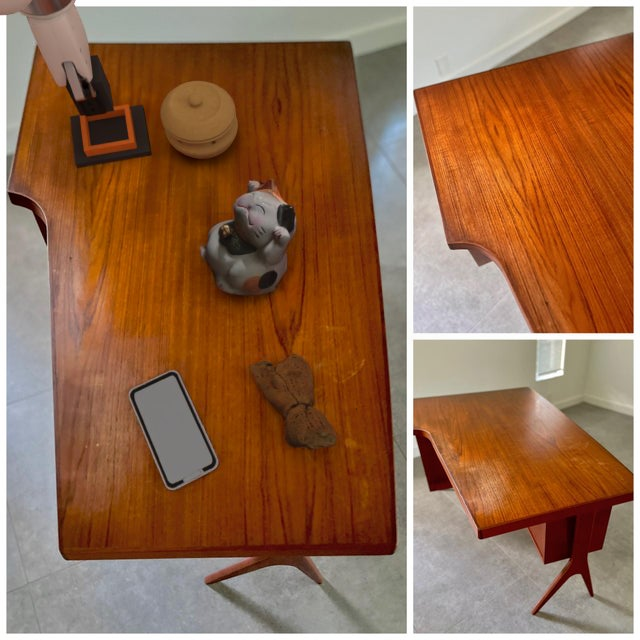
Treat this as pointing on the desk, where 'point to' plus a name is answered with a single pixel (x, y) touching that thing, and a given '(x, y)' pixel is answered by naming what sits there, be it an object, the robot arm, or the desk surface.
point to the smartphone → (173, 430)
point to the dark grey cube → (95, 85)
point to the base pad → (110, 136)
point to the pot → (199, 119)
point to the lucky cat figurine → (252, 242)
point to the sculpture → (294, 401)
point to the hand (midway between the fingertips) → (93, 97)
